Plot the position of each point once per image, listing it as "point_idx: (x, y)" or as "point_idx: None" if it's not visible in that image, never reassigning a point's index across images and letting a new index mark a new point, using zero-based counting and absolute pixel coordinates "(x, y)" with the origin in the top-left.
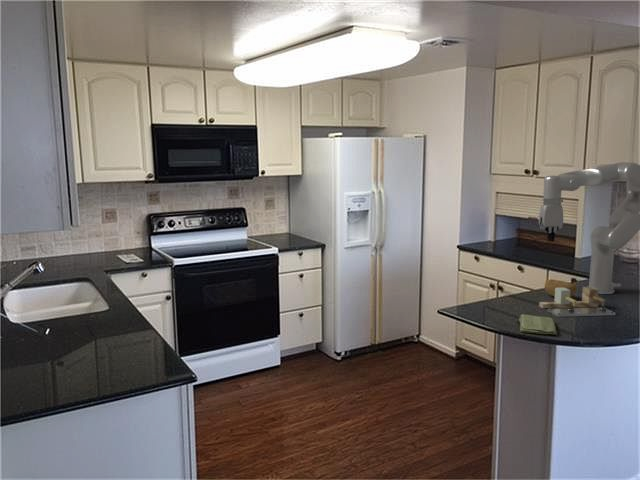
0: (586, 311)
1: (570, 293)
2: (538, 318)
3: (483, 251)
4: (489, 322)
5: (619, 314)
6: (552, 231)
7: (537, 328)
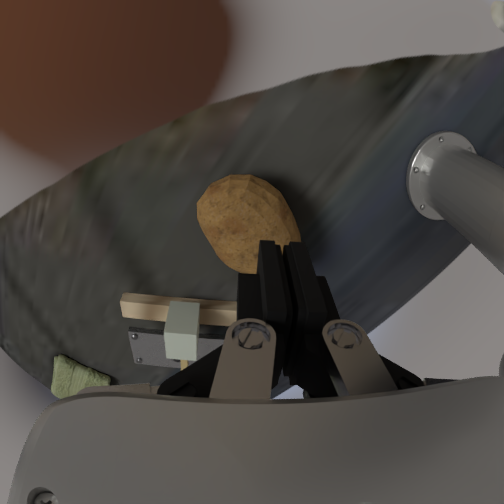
0: None
1: None
2: (81, 385)
3: None
4: (10, 346)
5: None
6: (302, 382)
7: None
